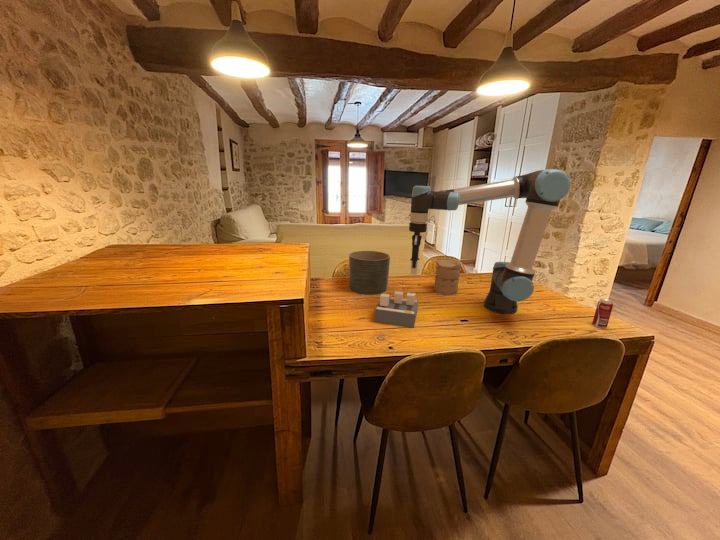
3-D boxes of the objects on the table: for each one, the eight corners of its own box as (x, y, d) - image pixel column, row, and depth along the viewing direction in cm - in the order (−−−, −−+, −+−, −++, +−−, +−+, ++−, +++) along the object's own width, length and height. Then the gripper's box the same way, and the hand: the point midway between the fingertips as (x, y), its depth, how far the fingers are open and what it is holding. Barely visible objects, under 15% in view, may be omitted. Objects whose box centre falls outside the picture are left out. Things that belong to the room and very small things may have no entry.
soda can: (592, 322, 136) (598, 297, 133) (606, 325, 133) (614, 300, 129) (591, 326, 132) (598, 300, 129) (606, 329, 129) (614, 304, 126)
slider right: (414, 302, 135) (415, 293, 134) (414, 305, 132) (414, 296, 131) (407, 301, 136) (407, 292, 135) (406, 304, 133) (406, 295, 132)
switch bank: (417, 312, 140) (418, 299, 139) (413, 327, 126) (415, 313, 124) (381, 307, 144) (382, 295, 143) (374, 321, 130) (375, 308, 128)
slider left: (388, 303, 133) (389, 294, 132) (387, 306, 130) (388, 297, 129) (381, 302, 134) (381, 293, 133) (379, 305, 131) (380, 296, 130)
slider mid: (402, 301, 137) (403, 292, 135) (401, 304, 134) (402, 294, 132) (395, 300, 138) (395, 291, 136) (393, 303, 134) (394, 293, 133)
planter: (390, 286, 175) (393, 252, 170) (383, 299, 155) (385, 262, 149) (354, 281, 181) (355, 249, 175) (343, 294, 160) (343, 257, 155)
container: (453, 299, 158) (457, 266, 153) (430, 294, 164) (433, 262, 159) (459, 292, 168) (463, 261, 163) (437, 288, 174) (441, 258, 169)
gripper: (411, 220, 137) (406, 269, 144) (408, 223, 125) (403, 277, 132) (427, 221, 135) (422, 271, 142) (426, 224, 123) (420, 279, 130)
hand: (413, 274), depth 137 cm, fingers closed
